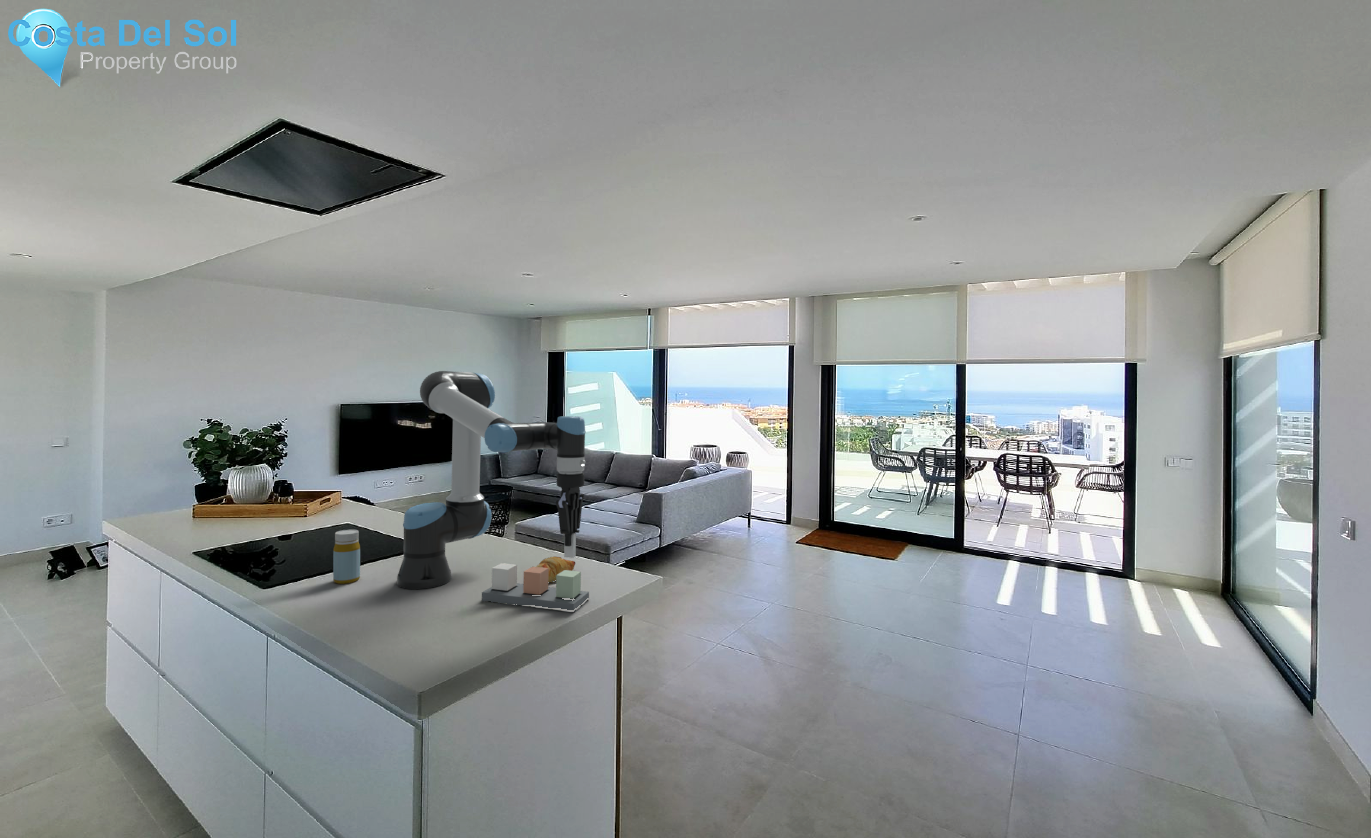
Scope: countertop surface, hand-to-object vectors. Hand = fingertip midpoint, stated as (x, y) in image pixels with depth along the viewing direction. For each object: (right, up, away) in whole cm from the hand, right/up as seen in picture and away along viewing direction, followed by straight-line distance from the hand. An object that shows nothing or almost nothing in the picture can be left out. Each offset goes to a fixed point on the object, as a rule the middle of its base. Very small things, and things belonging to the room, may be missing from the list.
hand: (569, 556), depth 159 cm
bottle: (-71, -11, +16) cm, 74 cm away
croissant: (-11, -13, +24) cm, 29 cm away
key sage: (-1, -11, +1) cm, 11 cm away
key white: (-20, -10, +6) cm, 23 cm away
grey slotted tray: (-10, -13, +3) cm, 17 cm away
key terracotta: (-10, -10, +3) cm, 15 cm away
